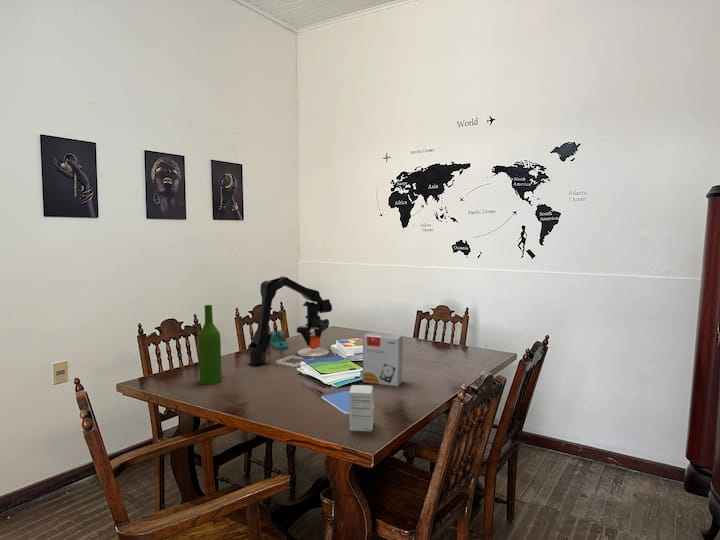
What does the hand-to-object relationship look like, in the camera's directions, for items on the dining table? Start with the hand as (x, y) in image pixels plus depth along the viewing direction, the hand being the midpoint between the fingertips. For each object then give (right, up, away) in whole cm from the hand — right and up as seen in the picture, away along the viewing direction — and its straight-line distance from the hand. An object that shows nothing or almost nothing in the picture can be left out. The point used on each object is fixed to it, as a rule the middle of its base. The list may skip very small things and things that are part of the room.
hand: (313, 343), depth 247 cm
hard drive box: (+34, -9, -47) cm, 58 cm away
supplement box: (+25, -13, -92) cm, 96 cm away
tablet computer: (+19, -12, -70) cm, 74 cm away
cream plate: (0, -5, 0) cm, 5 cm away
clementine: (0, -3, 0) cm, 3 cm away
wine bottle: (-39, -9, -44) cm, 59 cm away
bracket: (-20, -4, +15) cm, 26 cm away
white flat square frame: (-8, -6, -17) cm, 20 cm away
